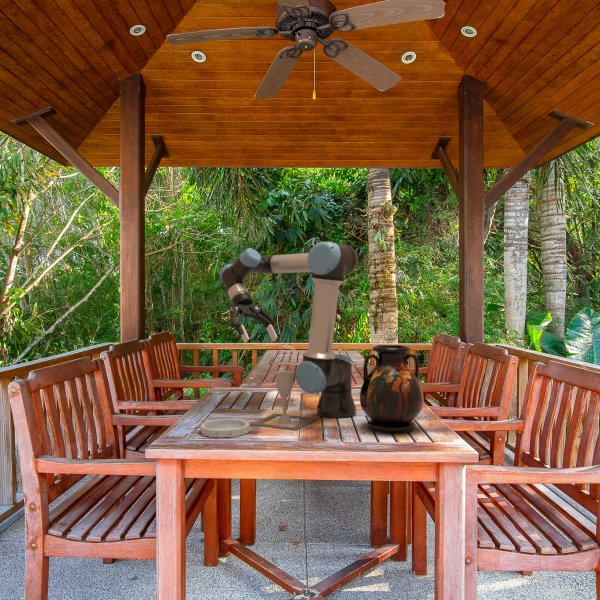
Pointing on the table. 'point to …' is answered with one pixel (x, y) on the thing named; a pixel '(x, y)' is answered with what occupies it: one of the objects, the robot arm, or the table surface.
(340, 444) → the table surface
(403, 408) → the amphora vase
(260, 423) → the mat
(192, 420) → the table surface
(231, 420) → the plate
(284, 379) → the chalice
